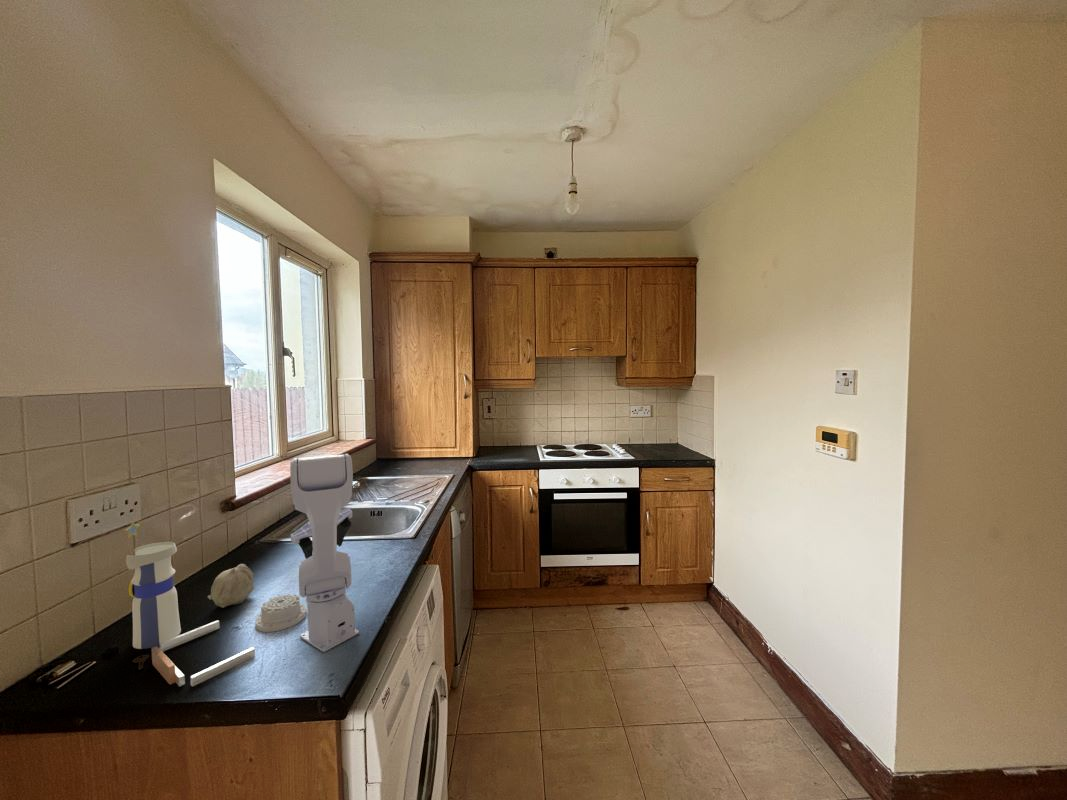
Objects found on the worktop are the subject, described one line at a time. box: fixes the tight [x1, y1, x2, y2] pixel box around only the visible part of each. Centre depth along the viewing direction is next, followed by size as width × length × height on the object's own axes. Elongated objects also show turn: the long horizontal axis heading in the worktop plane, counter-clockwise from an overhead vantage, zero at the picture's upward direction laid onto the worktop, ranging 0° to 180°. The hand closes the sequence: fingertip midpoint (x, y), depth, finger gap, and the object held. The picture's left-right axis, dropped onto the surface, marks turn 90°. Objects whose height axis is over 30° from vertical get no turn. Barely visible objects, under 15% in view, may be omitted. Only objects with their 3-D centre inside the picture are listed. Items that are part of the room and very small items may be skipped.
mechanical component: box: [254, 593, 307, 633], centre depth 97 cm, size 10×4×10 cm
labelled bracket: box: [151, 620, 256, 687], centre depth 84 cm, size 18×12×3 cm
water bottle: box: [125, 521, 182, 650], centre depth 90 cm, size 8×9×25 cm
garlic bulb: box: [207, 563, 255, 609], centre depth 105 cm, size 9×8×10 cm
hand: (324, 551), depth 107 cm, fingers open, 7 cm apart
